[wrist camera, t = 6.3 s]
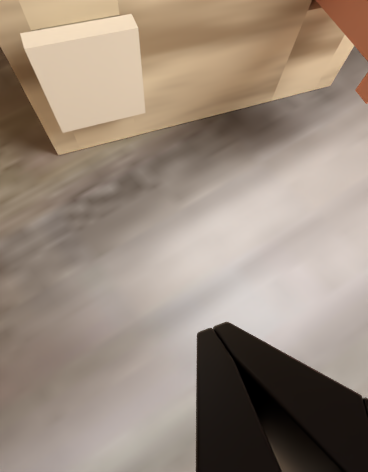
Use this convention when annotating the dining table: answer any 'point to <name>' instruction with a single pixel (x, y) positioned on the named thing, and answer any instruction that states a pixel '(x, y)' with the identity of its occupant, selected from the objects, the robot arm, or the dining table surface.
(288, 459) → the robot arm
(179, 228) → the dining table surface
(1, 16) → the socket block
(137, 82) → the cream plug
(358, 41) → the terracotta plug
